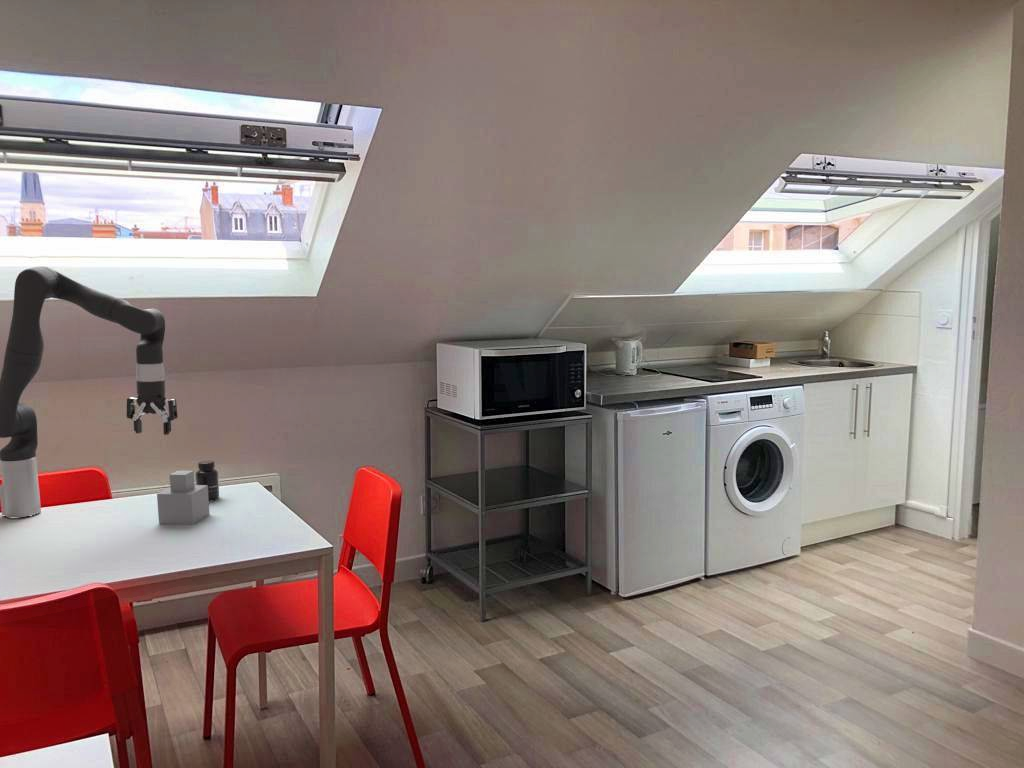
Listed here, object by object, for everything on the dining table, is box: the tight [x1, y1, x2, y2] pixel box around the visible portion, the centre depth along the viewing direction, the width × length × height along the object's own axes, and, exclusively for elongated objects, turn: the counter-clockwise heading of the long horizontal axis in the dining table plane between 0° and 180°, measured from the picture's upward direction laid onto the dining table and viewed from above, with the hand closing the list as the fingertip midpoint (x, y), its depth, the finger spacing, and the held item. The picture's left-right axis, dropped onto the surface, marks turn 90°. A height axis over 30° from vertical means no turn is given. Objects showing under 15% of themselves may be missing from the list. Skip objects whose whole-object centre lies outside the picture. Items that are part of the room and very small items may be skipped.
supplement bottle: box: [194, 460, 220, 502], centre depth 265 cm, size 7×7×12 cm
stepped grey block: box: [156, 470, 210, 525], centre depth 244 cm, size 10×10×14 cm
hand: (152, 433), depth 245 cm, fingers open, 8 cm apart
